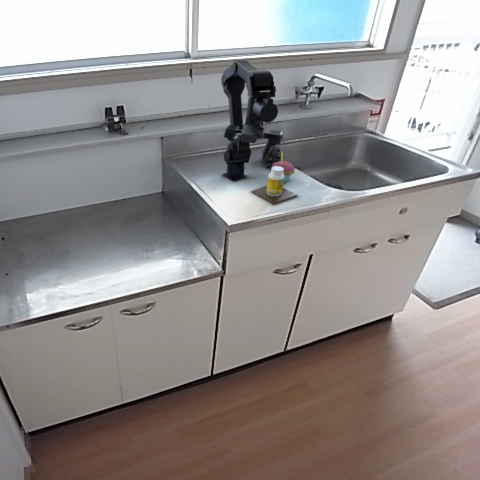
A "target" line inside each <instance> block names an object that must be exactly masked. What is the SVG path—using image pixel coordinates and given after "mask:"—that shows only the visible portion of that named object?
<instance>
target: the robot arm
mask: <svg viewBox="0 0 480 480" xmlns="http://www.w3.org/2000/svg"><path fill="white" fill-rule="evenodd" d="M220 81H221V82H220V83H221V86H222V91H223V93H224V94H225V96H226V98H227V99H228V100H227V101H228V112H229V125H227V126H226V128H225V129H224V131H223V138H225V139H227V141H228V143H227V148H226V150H225V152H224V153H223V161H224V163H225V164H226V172H224V173H223V174H222V175H223V176H224V177H226V178H227V179H229V180H231V181H237V180H241V179H244V178H246V177H247V175H245V164H248V163H249V162H250V160H251V156H252V149H251V147H250V144H255V143H257V141H258V140H263V139H265V140H267V142H266V144H265V148H266V149H265V148H264V149H265V152H264V156H263V161H264V160H265V158H266V156H267V154H268V152H269V150H270V148H271V147H272V146H275V147H276V146H277V145H281V142H282V141H283V137H284V132H283V131H282V130H276V129H271V130H270V132H265V130H266V129H265V127H264V123H266V124H267V123H272V122H273V121H274V120H276V118H277V117H278V115H279V108H278V106H277V105H276V104H275V103H274V98H276V92H277V88H276V84H275V79H274V76H273V74H272V72H271V71H270V70H263V69H258V68H256V67H255V66H253V64H252V63H251V64H250V62H249V60H247V59H244V60H235V61H233V62H232V64H231V65H229V67H227V68H226V69H225V70H224V71H223V73H222V75H221V80H220ZM245 88H246V90H247V96H248V98H247V108H246V115H245V122H244V116H243V102H242V101H243V100H242V95H243V92H244V90H245Z"/></svg>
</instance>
